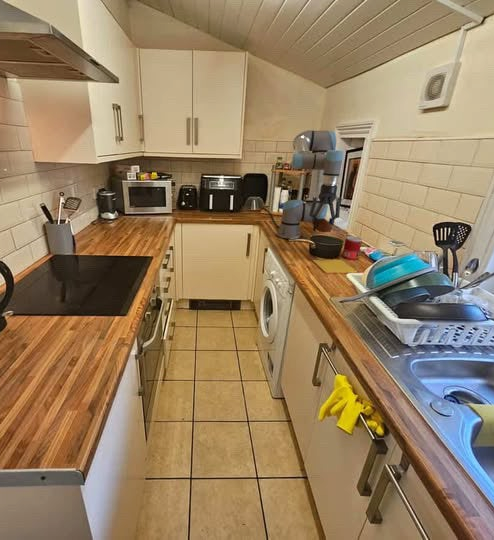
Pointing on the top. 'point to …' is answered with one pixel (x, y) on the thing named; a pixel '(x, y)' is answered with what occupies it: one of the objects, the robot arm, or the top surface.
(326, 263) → the tea towel
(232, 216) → the top surface
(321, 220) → the potato
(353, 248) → the canned food
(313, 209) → the robot arm
